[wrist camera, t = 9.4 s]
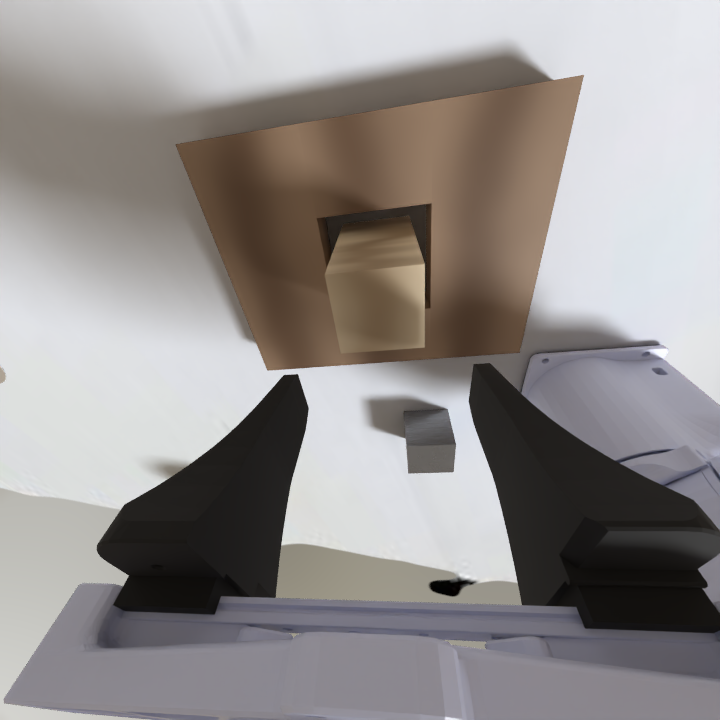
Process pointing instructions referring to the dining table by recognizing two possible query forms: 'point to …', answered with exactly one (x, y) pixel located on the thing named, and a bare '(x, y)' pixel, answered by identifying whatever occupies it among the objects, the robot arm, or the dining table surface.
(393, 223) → the long beech pin
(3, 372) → the wineglass
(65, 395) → the dining table surface
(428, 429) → the brushed steel cube
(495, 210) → the hole board
